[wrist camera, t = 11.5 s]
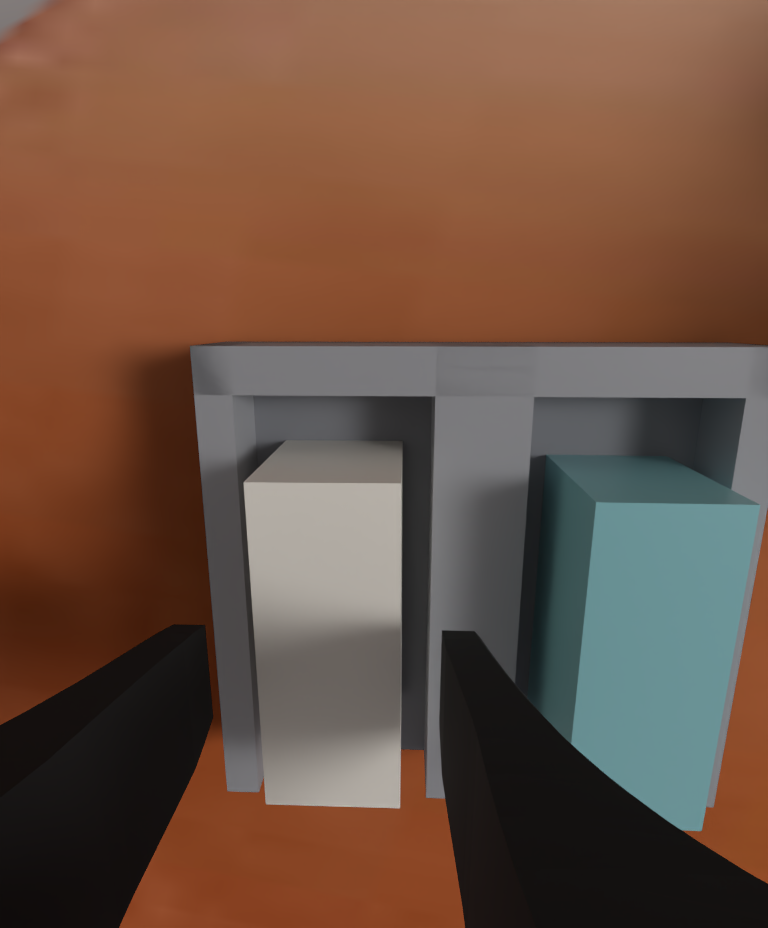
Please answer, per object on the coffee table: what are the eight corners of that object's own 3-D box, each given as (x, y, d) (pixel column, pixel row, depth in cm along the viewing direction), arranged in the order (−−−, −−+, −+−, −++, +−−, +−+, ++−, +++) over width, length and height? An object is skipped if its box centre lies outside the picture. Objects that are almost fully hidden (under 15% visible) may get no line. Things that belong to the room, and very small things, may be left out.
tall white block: (401, 695, 15) (399, 808, 12) (298, 692, 15) (265, 804, 12) (402, 440, 13) (401, 483, 10) (286, 440, 13) (243, 482, 10)
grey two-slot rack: (668, 736, 16) (713, 806, 14) (252, 724, 16) (227, 791, 14) (728, 342, 13) (796, 347, 11) (226, 341, 14) (189, 345, 11)
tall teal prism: (632, 711, 15) (701, 830, 11) (526, 708, 15) (562, 825, 11) (666, 456, 13) (760, 505, 10) (546, 454, 13) (596, 502, 10)
